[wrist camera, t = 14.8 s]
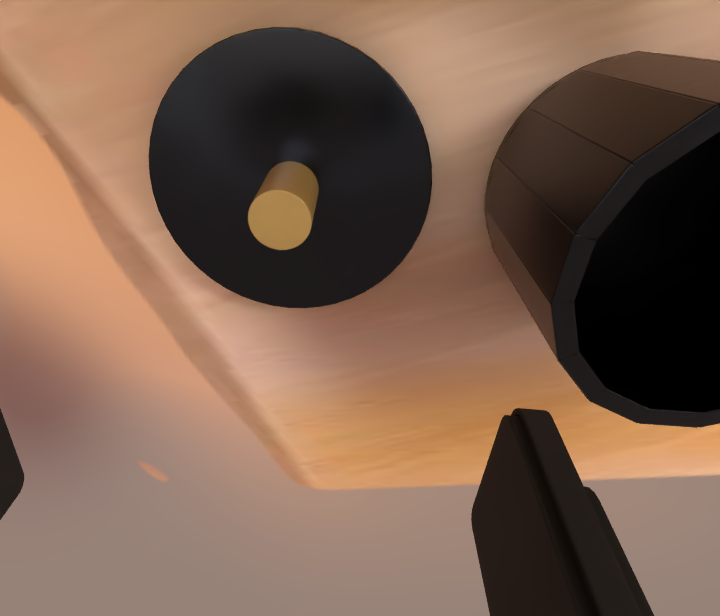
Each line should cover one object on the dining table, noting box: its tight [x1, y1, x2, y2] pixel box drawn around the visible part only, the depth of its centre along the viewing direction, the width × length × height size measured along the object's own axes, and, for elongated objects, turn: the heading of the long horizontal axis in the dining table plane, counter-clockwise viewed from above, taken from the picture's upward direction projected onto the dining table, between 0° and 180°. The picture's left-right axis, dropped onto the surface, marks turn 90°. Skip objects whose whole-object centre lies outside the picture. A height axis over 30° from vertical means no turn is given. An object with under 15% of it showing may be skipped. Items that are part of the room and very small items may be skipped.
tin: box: [485, 51, 720, 428], centre depth 21 cm, size 13×13×10 cm
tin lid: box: [149, 27, 432, 308], centre depth 23 cm, size 14×14×6 cm
